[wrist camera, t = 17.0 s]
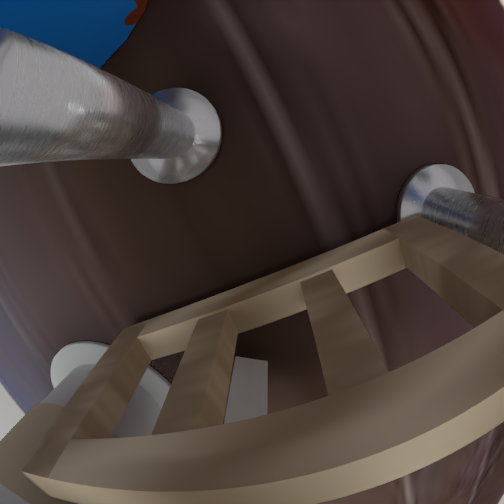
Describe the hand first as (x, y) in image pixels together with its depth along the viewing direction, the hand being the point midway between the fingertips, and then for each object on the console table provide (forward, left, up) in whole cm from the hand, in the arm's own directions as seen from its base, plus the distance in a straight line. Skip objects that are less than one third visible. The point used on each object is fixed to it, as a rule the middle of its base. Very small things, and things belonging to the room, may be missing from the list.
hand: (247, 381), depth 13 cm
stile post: (-10, -5, -2) cm, 11 cm away
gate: (-5, 0, -1) cm, 5 cm away
